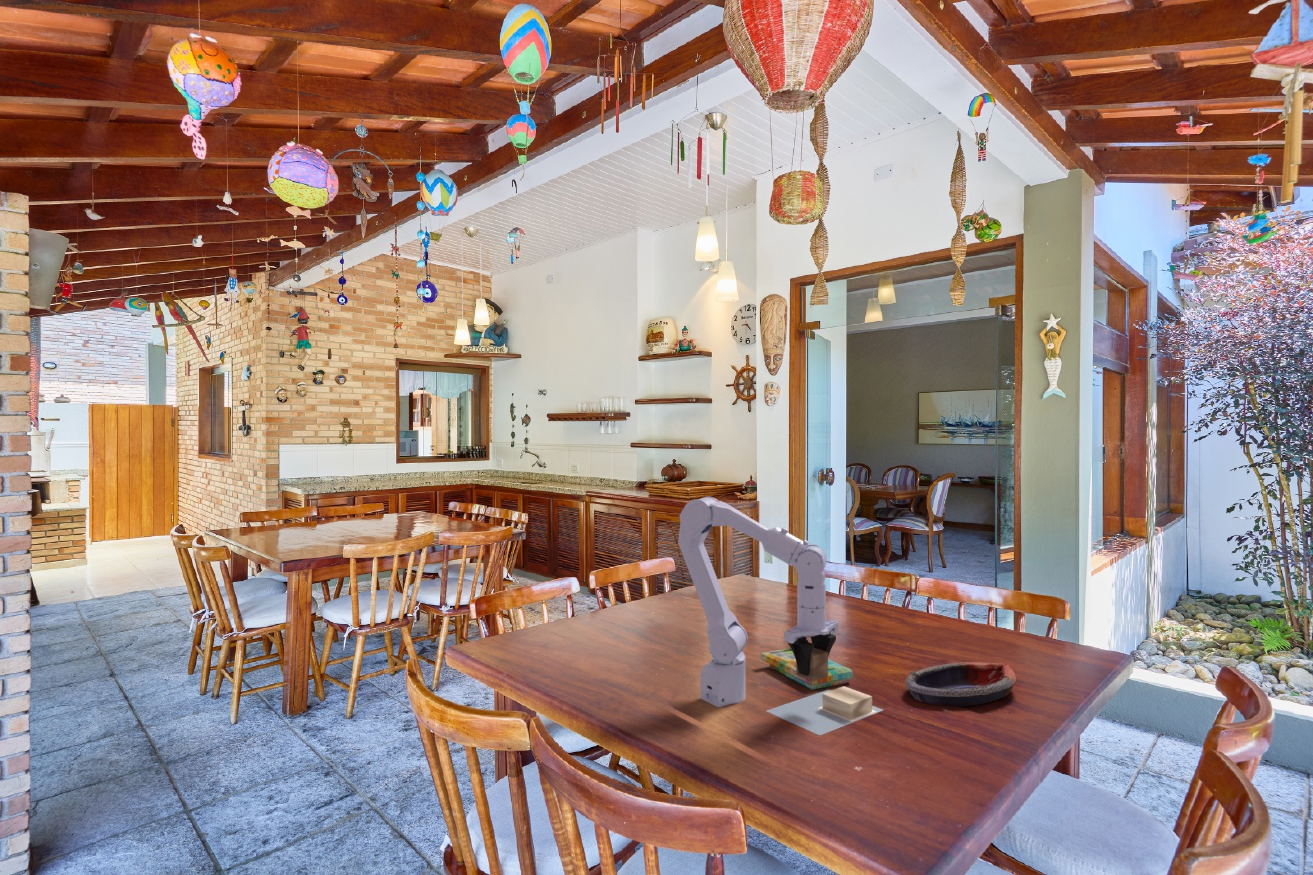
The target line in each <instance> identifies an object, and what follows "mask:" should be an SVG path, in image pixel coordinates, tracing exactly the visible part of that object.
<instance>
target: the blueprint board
mask: <svg viewBox="0 0 1313 875" xmlns="http://www.w3.org/2000/svg"><path fill="white" fill-rule="evenodd" d="M832 690H833V689H832ZM832 690H831V689H826V690H823V691H820V692H816V693H814V694H812V695H808V696H805V697H803V698H800V699H797V700H793V701H791V702H787V703H785V704H782V705H779V706H776V707H773V708H770V709H767V710H765V712H766V713H768V714H771V715H772V716H775V717H778V718H780V719H782V720H784V721H787V722H789V723H792V725H796V726H797V727H800V728H802V729H804V730H807V731H808V732H811V733H813V734H815V735H818V736H823V735H825V734H828V733H830V732H832V731H835V730H838V729H839V728H842V727H845V726H847V725H850V724H853V723H855V722H858V721H860V720H862V719H866V718H868V717H870V716H873V715H875V714H878V713H881V712H883V711H884V709H882V708H879V707H877V706H875V705H872V711H871V712H869V713H866V714H864V715H861V716H859V717H856V718H854V719H851V720H850V719H848V718H845V717H843V716H840V715H838V714H835V713H833V712H831V711H828V710H826V709H823V708H822V694H823V693H826V692H829V691H832Z"/></svg>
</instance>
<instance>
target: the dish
mask: <svg viewBox="0 0 1313 875" xmlns="http://www.w3.org/2000/svg"><path fill="white" fill-rule="evenodd" d="M1016 682H1017V677H1016V674H1015V672H1014V669H1013V668H1012V666H1011V665H1010V664H1007V663H1004V662H1003V663H1000V662H999V663H998V662H983V661H982V662H966V661H964V662H951V663H945V664H944V663H943V664H939V665H934V666H929V667H925V668H923V669H919V670H911V671H910V672H909V674H908V676H907V677H906V679H905V685H906V687H907V689H908V692H909V694H910V695H911V696H912V698H913V699H915V700H916V701H920V702H921V703H926V704H931V705H938V706H939V705H940V706H954V707H970V706H980V705H983V704H988V703H992V702H995V701H997V700H1000V699H1003V698H1004V697H1007V696H1009V694H1010V693H1011V691H1012V690H1013V688H1014V686H1015V684H1016Z"/></svg>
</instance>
